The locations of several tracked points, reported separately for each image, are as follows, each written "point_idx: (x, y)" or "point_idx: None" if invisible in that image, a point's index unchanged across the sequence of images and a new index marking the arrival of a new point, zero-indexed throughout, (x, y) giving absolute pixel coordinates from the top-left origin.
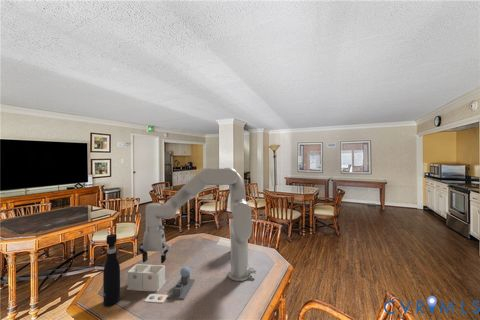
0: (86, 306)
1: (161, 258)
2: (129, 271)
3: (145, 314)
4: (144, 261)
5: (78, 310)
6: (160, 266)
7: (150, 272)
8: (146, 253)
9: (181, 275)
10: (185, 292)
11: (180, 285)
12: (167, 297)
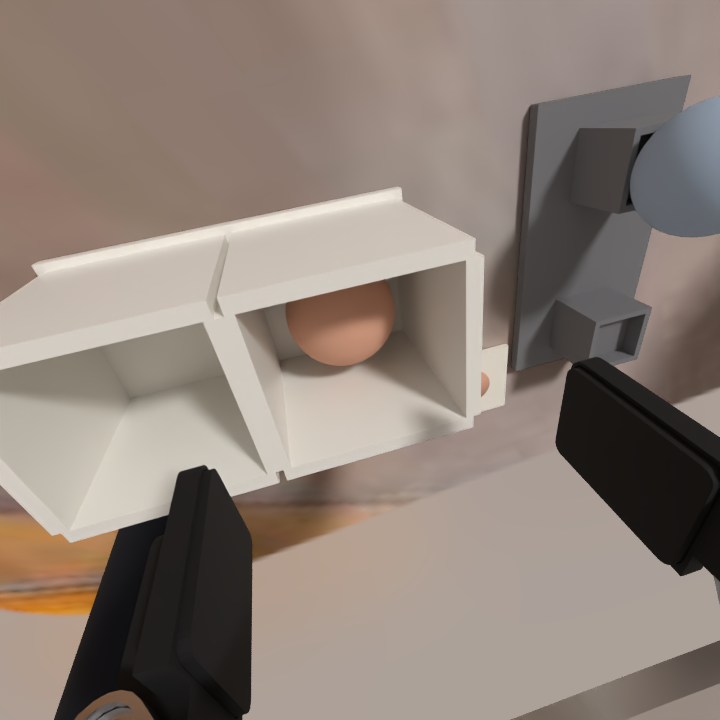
0: (70, 580)
1: (632, 519)
2: (82, 529)
3: (452, 482)
4: (251, 550)
5: (70, 604)
6: (402, 269)
7: (377, 442)
8: (210, 667)
9: (650, 225)
10: (624, 289)
11: (627, 314)
12: (516, 369)
